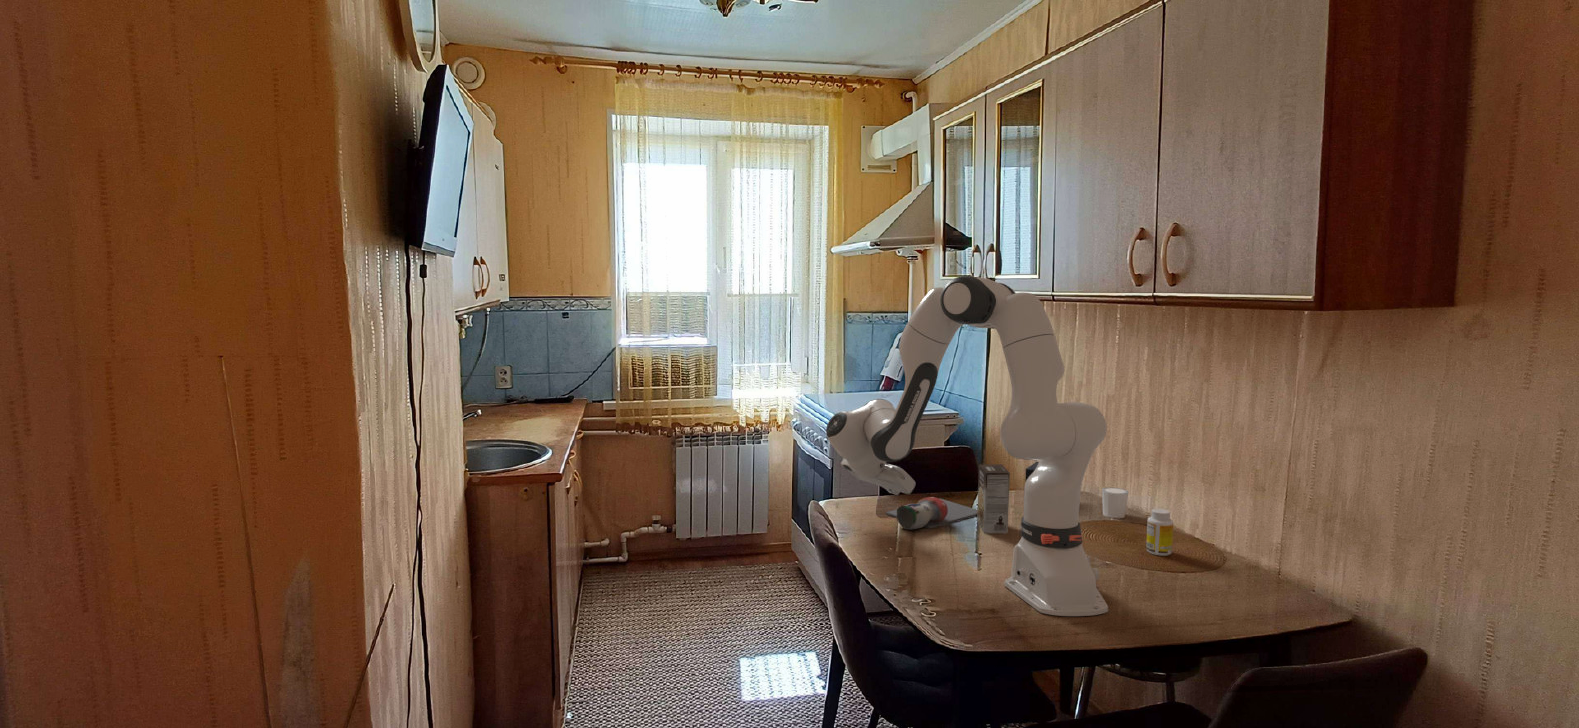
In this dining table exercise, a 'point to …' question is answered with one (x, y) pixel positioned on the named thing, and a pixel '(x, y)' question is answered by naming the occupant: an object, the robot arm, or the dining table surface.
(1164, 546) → the supplement bottle
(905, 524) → the decorative ornament
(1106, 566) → the dining table surface
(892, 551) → the dining table surface
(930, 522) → the mat
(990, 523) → the coffee box
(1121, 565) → the dining table surface
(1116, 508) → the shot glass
